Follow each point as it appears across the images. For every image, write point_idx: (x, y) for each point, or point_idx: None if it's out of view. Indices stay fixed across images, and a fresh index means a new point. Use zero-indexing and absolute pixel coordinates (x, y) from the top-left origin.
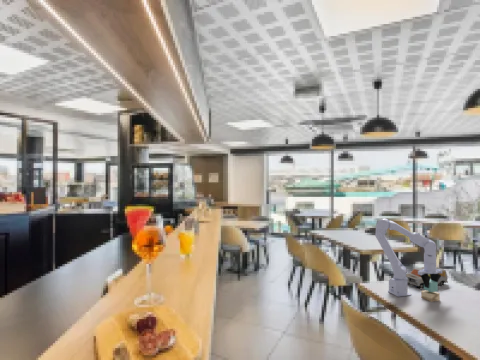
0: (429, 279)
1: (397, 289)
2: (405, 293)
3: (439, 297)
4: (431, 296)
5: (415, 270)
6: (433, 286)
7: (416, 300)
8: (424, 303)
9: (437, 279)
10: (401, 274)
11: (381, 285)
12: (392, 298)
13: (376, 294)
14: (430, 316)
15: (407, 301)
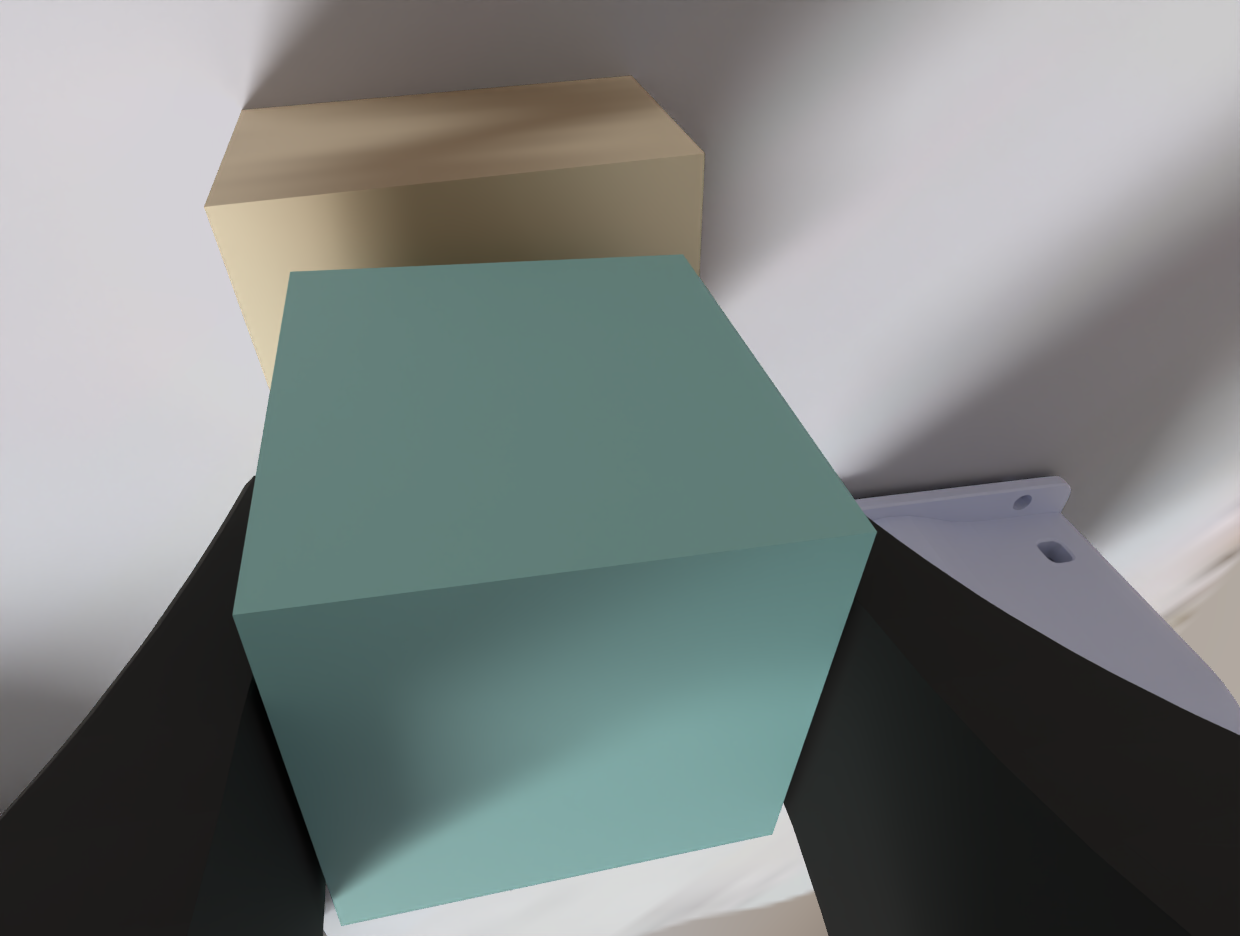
0: (1052, 760)
1: (1121, 601)
2: (898, 537)
3: (234, 144)
4: (681, 132)
5: None
6: (586, 399)
7: (921, 257)
8: (946, 25)
9: (109, 878)
10: None
11: (793, 828)
12: (1212, 423)
13: (1218, 578)
14: None
15: (1156, 247)
